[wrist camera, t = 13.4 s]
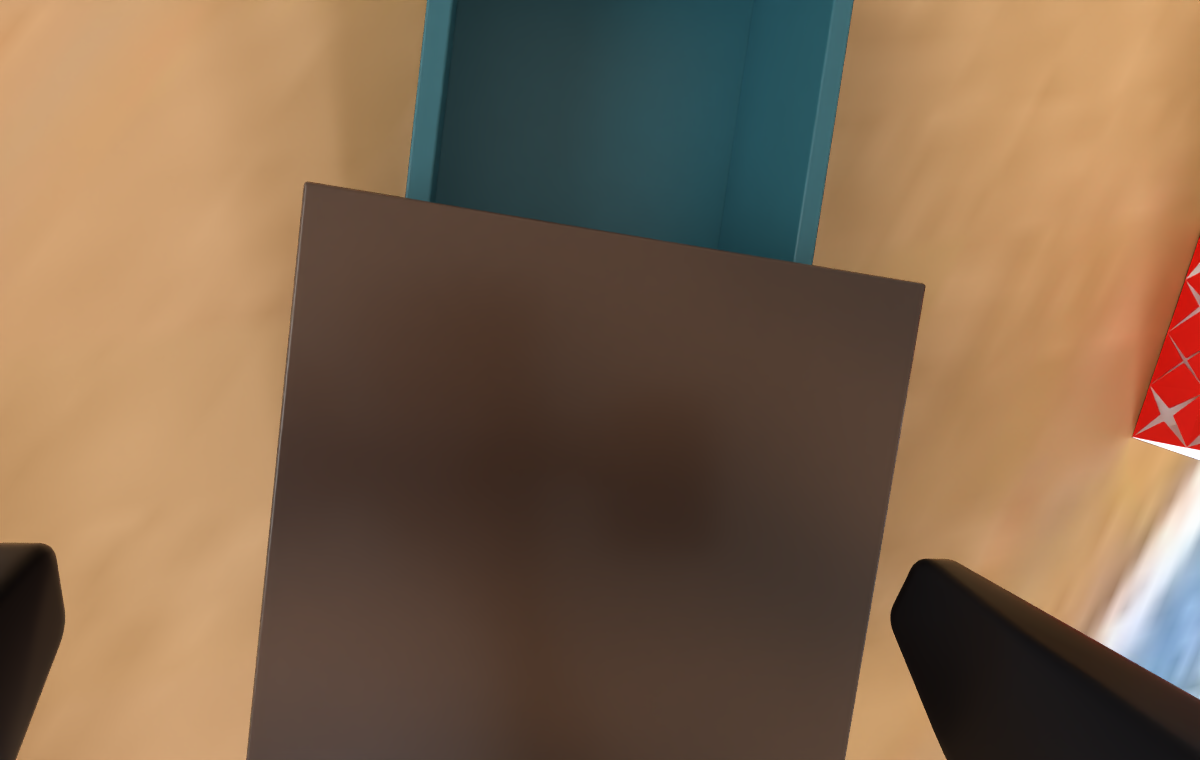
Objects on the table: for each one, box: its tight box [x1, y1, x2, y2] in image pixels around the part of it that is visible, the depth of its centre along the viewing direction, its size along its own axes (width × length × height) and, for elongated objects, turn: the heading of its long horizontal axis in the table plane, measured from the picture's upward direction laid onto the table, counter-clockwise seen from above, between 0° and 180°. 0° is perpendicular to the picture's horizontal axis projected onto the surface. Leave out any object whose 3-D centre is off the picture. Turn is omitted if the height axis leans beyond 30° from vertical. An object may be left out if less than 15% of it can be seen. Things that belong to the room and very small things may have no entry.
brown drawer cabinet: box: [246, 182, 925, 760], centre depth 18 cm, size 12×12×8 cm
